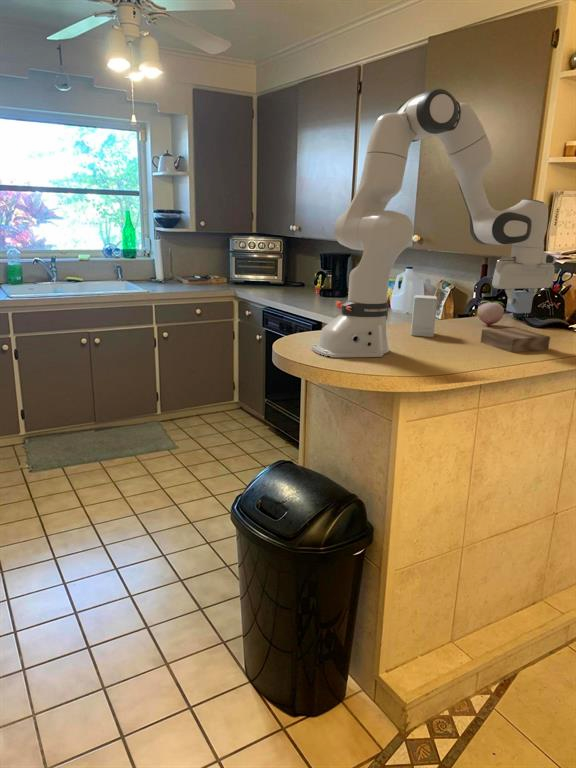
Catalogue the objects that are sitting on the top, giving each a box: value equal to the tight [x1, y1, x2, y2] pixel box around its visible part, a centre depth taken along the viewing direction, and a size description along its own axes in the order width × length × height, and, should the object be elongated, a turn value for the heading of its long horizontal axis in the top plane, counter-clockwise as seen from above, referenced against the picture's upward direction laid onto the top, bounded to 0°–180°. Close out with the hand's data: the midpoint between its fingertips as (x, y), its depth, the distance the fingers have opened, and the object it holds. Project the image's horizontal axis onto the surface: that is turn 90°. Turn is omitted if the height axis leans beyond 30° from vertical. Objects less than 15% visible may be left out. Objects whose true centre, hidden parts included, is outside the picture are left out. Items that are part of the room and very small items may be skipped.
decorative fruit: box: [477, 298, 506, 326], centre depth 209 cm, size 9×8×10 cm
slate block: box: [505, 290, 534, 314], centre depth 175 cm, size 5×5×6 cm
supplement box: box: [410, 294, 438, 338], centre depth 190 cm, size 7×7×13 cm
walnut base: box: [480, 327, 551, 353], centre depth 178 cm, size 14×14×4 cm
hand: (519, 303), depth 175 cm, fingers closed on slate block, 5 cm apart
